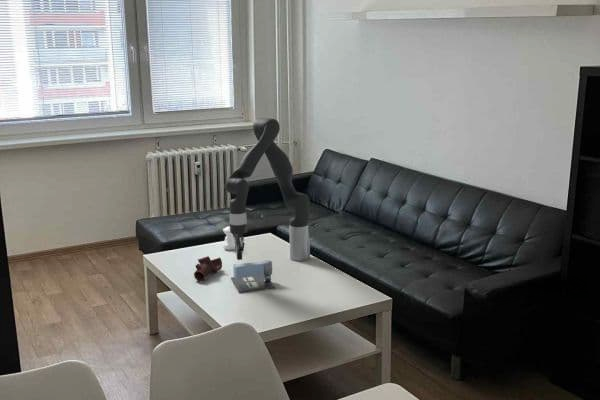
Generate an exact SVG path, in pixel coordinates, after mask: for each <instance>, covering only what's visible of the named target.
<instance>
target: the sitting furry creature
mask: <svg viewBox="0 0 600 400" xmlns="http://www.w3.org/2000/svg"><path fill="white" fill-rule="evenodd" d="M222 231H223V233H224V234H225V235H226V236H224V237H225V238H224V241H223V245H222V247H223V249H224V250H226V251H233V250H235V251H236V249H235V243H234V238H233V237H234V234H232V233H230V226H226V227H224V228H222Z"/></svg>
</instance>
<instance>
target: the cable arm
mask: <svg viewBox="0 0 600 400" xmlns="http://www.w3.org/2000/svg"><path fill="white" fill-rule="evenodd" d="M263 275H271V276H272V275H273V261H272V260H270V259H269V260H268V259H266V260H262V261H254V262H247V263H246V262H245V263H238V264H236V263H234V264H233V277H235V278H236V279H238V278H246V277H255V276H263Z"/></svg>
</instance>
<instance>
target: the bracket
mask: <svg viewBox="0 0 600 400" xmlns="http://www.w3.org/2000/svg"><path fill="white" fill-rule="evenodd" d="M197 261H198V263H196V265H195V268H196V271H194V273H193V277H194V279H195V280H196V281H199V282H203V281H205V280H206V279H207V278H208V276H209V275H215V274H217V273H218V272H219V271H221V270H222V268H223V261H222V258H221V257H220V256H219V257H216V258H213V259H211V258H210V256H209V255H207V256H203V257H201V258H198V259H197Z"/></svg>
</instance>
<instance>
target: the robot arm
mask: <svg viewBox="0 0 600 400" xmlns="http://www.w3.org/2000/svg"><path fill="white" fill-rule="evenodd" d="M280 129H281V126H280V123H279V121H278V120H277V119H276V118H270V117H269V118H268V117H267V118H263V117H259V118H257V119H255V120H254V121H253V125H252V130H253V133H254V136H255V138H256V139H257V142H256V143H255V144H254V145H253V146H252V147H251V148H250V149H249V150H248V151H246V153H245V154H244V156H243V157H242V159H241V160H240V162H239V164H238V166H237V168H236V169H234V171H233V172H232V173H231V174H230V175H229V176H228V177H227V179H226V181H225V185H224V187H225V191H226V192H227V193H229V194H234V195H236V197H235V198H233V199H230V201H229V227H230V233H232V234H233V238H234V243H235V252H236V260H238V261H242V260H243V252H244V248H245V245H246V244H245V236H243V235H244V234H246V233H248V226H247V225H248V219H247V211H246V210H247V206H246V202H247V198H248V194H249V188H250V187H249V183H248V181H247V180H246V179H248V178H250V177H252V175H253V173H254V171H255V169H256V168H257V166H258V163H259V162H260V160H261V159H262V157H263V156H264V154H265V156H266V159H267V161H268V163H269V165H270V168H271V170H272V172H273V175H274V177H275V179H276V181H277V184H278V186H279V188H280V191H281V195H282V198H283V202H284V204H285V206H286V208H287V209H288V210H290V211H293V212H295V214H294V217H291V218H290V219H289V221H288V225H289V228H288V231H289V259H290V260H291V261H295V262H304V261H307V260H310V259H311V253H310V252H311V243H310V242H311V240H310V239H309V221H310V214H311V213H310V210H311V201H310V197H309V196H308V195H307V194H305V193H302V192H298V191H296V189H295V187H294V185H293V181H292V180H293V174H294V170H293V166H292V164H291V161H290V159H289V157H288V155H287V154H286V153H285V152H284V150H282V149H281V147H279V146H278V145H277V144H276V142H275V140H276V139H277V137H278V135H279V133H280V131H281V130H280Z"/></svg>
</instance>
